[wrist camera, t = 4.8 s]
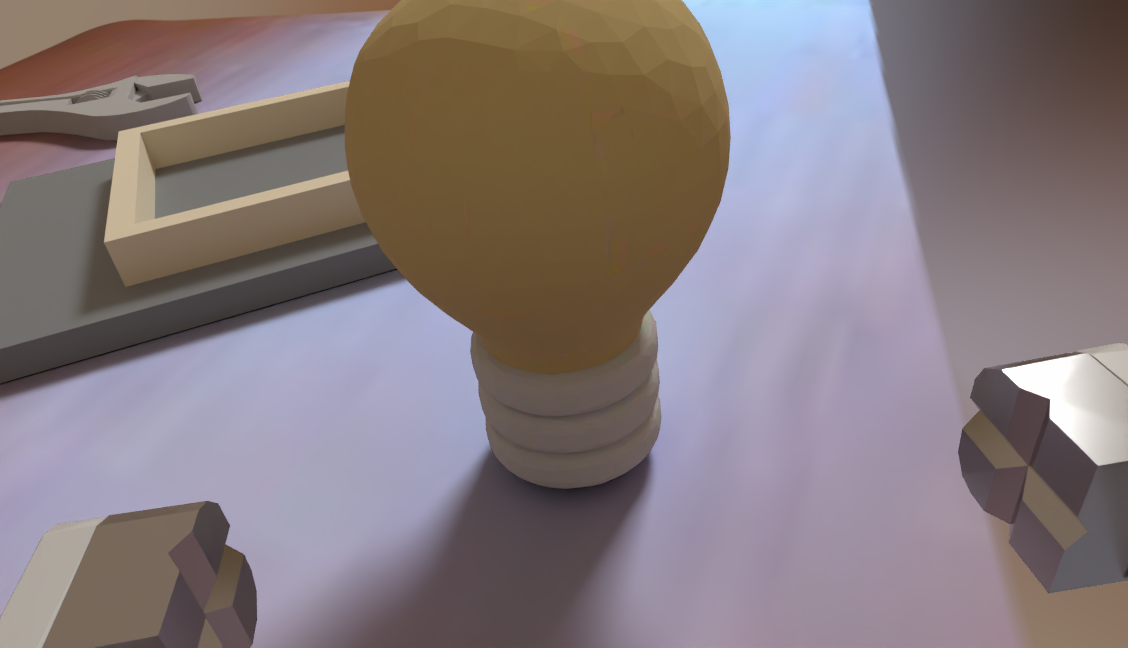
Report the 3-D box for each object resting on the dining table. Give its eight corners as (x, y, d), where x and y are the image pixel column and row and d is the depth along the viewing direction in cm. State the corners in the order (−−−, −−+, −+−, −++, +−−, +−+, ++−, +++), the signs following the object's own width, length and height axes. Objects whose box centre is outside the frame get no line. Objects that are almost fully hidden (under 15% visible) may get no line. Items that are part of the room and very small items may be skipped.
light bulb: (647, 611, 14) (607, 15, 8) (371, 498, 17) (203, 0, 11) (765, 394, 18) (791, -93, 13) (530, 334, 21) (466, -82, 16)
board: (-48, 397, 22) (-101, 320, 20) (22, 204, 32) (-9, 146, 31) (617, 204, 27) (612, 134, 26) (485, 95, 38) (477, 42, 37)
